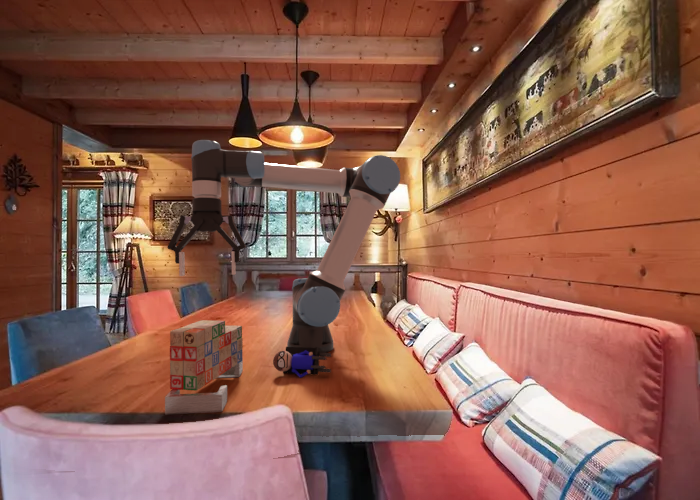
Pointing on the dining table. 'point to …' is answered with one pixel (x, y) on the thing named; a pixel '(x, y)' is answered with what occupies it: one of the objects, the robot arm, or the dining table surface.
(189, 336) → the stack of blocks
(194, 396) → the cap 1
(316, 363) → the character figurine
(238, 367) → the grey piece
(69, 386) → the dining table surface
